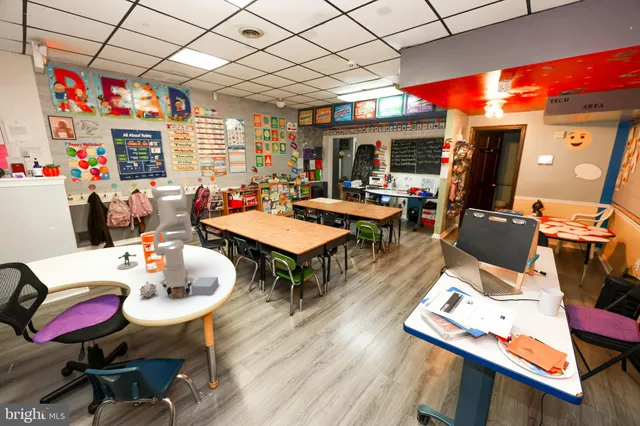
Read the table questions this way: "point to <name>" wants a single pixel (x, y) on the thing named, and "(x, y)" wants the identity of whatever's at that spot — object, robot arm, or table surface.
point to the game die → (148, 290)
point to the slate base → (205, 286)
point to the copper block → (178, 292)
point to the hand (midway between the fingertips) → (179, 293)
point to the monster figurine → (127, 264)
